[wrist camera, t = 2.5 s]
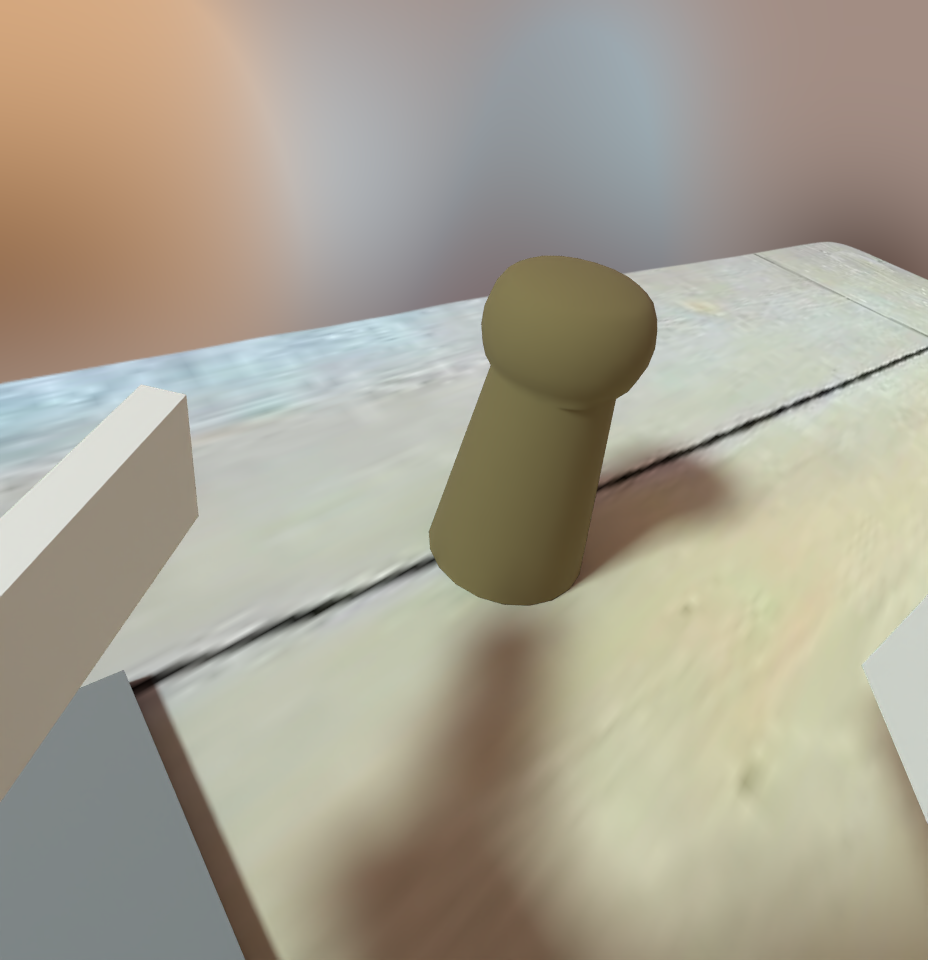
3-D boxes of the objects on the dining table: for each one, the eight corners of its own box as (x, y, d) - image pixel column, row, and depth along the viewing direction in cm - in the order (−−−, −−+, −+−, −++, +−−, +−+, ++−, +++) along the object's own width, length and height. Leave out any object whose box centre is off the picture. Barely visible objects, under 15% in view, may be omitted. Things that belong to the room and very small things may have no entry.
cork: (551, 490, 29) (633, 240, 22) (605, 598, 24) (730, 328, 17) (415, 495, 27) (457, 225, 20) (447, 612, 22) (516, 319, 16)
